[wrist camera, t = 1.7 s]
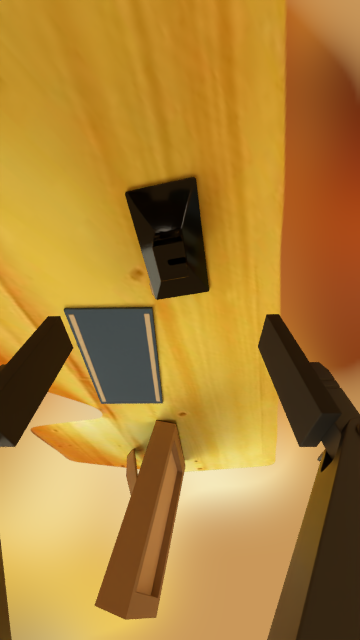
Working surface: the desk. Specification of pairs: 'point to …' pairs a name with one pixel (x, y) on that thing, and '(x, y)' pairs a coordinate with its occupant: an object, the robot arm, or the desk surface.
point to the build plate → (170, 237)
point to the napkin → (119, 352)
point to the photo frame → (145, 528)
